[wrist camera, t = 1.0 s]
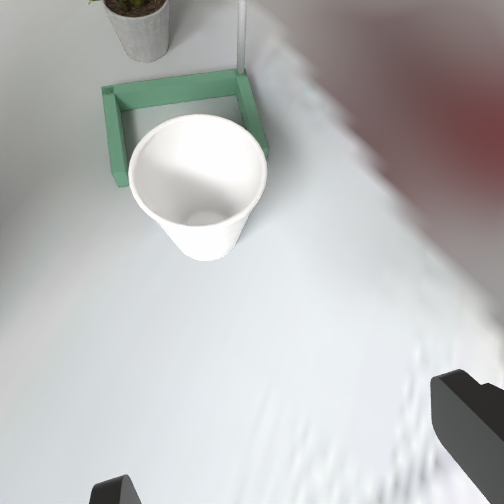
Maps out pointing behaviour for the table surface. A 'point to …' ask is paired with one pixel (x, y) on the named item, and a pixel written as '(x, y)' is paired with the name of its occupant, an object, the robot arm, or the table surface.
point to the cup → (199, 181)
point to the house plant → (140, 26)
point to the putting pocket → (180, 100)
